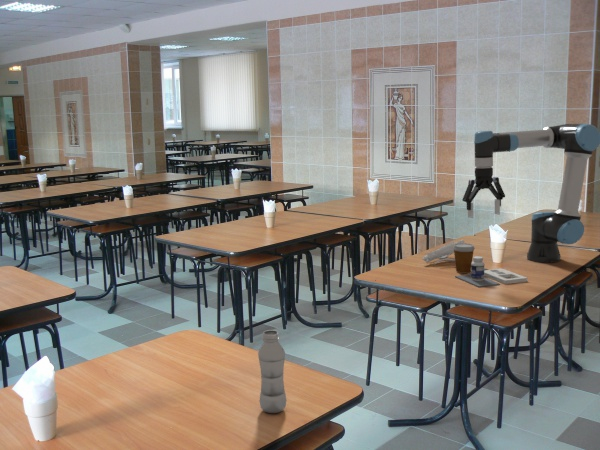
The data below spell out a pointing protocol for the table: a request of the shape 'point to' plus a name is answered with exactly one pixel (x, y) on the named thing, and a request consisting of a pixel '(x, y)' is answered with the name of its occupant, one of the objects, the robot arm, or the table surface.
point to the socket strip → (504, 276)
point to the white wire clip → (441, 253)
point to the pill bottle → (477, 269)
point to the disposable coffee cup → (463, 257)
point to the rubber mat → (477, 283)
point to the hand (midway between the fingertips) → (484, 215)
